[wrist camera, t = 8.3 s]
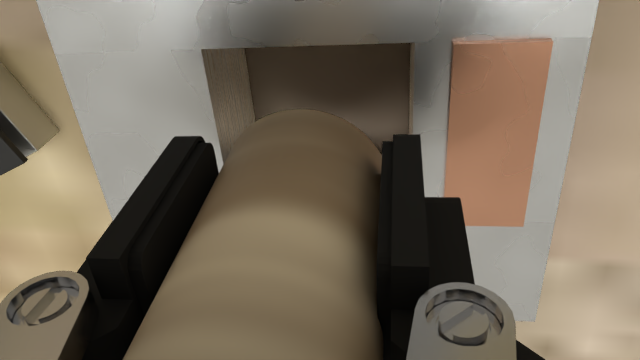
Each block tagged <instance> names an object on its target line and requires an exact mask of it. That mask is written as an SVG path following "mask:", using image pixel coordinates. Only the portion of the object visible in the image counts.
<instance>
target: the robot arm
mask: <svg viewBox="0 0 640 360" xmlns="http://www.w3.org/2000/svg"><path fill="white" fill-rule="evenodd" d="M218 174H219V171H218V166H217V162H216V157H215V152H214V148H213V145H212V144H211V143H205V140H204V139H203V137H202V136H175V137H174V138H172V140H171V141H170V143H169V144H168V145H167V147H166V148H165V149H164V151H163V152H162V154H161V155H160V156H159V158H158V159H157V161H156V162H155V163H154V165H153V166H152V167H151V169H150V170H149V172H148V173H147V174H146V176H145V177H144V179H143V180H142V181H141V183H140V184H139V185H138V187H137V188H136V190H135V191H134V192H133V194H132V195H131V196H130V198H129V199H128V201H127V202H126V203H125V205H124V206H123V208H122V209H121V210H120V212H119V213H118V214H117V216H116V217H115V219H114V220H113V221H112V223H111V224H110V226H109V227H108V228H107V230H106V231H105V232H104V234H103V235H102V237H101V238H100V239H99V241H98V242H97V243H96V245H95V246H94V248H93V249H92V250H91V252H90V253H89V255H88V256H87V257H86V260H85V262H84V263H83V265H82V266H81V267H80V269H79V270H78V272H77V273H76V272H73V271H55V272H50V273H45V274H42V275H39V276H37V277H34V278H32V279H30V280H28V281H26V282H24V283H22V284H20V285H19V286H18V287H16V288H15V289H14V290H13V291H11V292H10V293H9V294H8V295H7V296H6V297H5V298H4V300H3V301H2V302H1V303H0V360H123V358H124V356H125V354H126V352H127V350H128V348H129V346H130V344H131V343H132V341H133V339H134V337H135V335H136V333H137V331H138V329H139V327H140V325H141V323H142V321H143V319H144V317H145V315H146V314H147V312H148V310H149V308H150V306H151V304H152V302H153V300H154V298H155V296H156V294H157V292H158V290H159V288H160V286H161V285H162V283H163V281H164V279H165V277H166V275H167V273H168V271H169V269H170V267H171V265H172V263H173V261H174V259H175V257H176V255H177V254H178V252H179V250H180V248H181V246H182V244H183V242H184V240H185V238H186V236H187V234H188V232H189V230H190V228H191V226H192V225H193V223H194V221H195V219H196V217H197V215H198V213H199V211H200V209H201V207H202V205H203V203H204V201H205V199H206V197H207V196H208V194H209V192H210V190H211V188H212V186H213V184H214V182H215V180H216V178H217V176H218ZM377 317H378V319H379V322H380V325H381V329H382V332H383V341H384V348H383V360H545V359H544V358H542V357H541V356H539V355H538V354H536V353H535V352H533V351H532V350H530V349H529V348H527V347H526V346H524V345H523V344H522V343H520V342H519V341H517V340H516V326H515V320H514V316H513V312H512V310H511V309H510V307H509V306H508V305H507V303H506V302H505V301H504V300H503V299H502V298H501V297H499V296H498V295H497V294H496V293H494V292H492V291H490V290H488V289H486V288H484V287H482V286H479V285H475V282H474V276H473V270H472V264H471V258H470V252H469V246H468V240H467V234H466V228H465V222H464V216H463V210H462V204H461V199H460V198H459V197H425V194H424V180H423V165H422V151H421V137H420V134H401V135H393V142H383V146H382V165H381V185H380V204H379V224H378V244H377Z"/></svg>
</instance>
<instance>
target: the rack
mask: <svg viewBox="0 0 640 360" xmlns="http://www.w3.org/2000/svg"><path fill="white" fill-rule="evenodd" d="M36 1H37V4H38V7H39V10H40V13H41V16H42V19H43V22H44V24H45V27H46V30H47V33H48V36H49V39H50V42H51V45H52V47H53V50H54V53H55V56H56V59H57V62H58V65H59V68H60V70H61V73H62V76H63V79H64V82H65V85H66V88H67V91H68V93H69V96H70V99H71V102H72V105H73V108H74V111H75V114H76V116H77V119H78V122H79V125H80V128H81V131H82V134H83V137H84V139H85V142H86V145H87V148H88V151H89V154H90V157H91V160H92V163H93V165H94V168H95V171H96V174H97V177H98V180H99V183H100V186H101V188H102V191H103V194H104V197H105V200H106V203H107V206H108V209H109V211H110V214H111V217H112V220H114V219H115V217H116V216H117V214H118V213H119V212H120V210H121V209H122V208H123V206H124V205H125V203H126V202H127V201H128V199H129V198H130V196H131V195H132V194H133V192H134V191H135V190H136V188H137V187H138V185H139V184H140V183H141V181H142V180H143V179H144V177H145V176H146V174H147V173H148V172H149V170H150V169H151V167H152V166H153V165H154V163H155V162H156V161H157V159H158V158H159V156H160V155H161V154H162V152H163V151H164V149H165V148H166V147H167V145H168V144H169V143H170V141H171V140H172V138H174V137H175V136H202V137H203V139H204V140H205V143H211V144H212V145H213V148H214V152H215V157H216V162H217V166H218V171H219V172H220V170H221V168H222V166H223V165H224V163H225V161H226V159H227V157H228V155H229V153H230V151H231V149H232V147H233V145H234V144H235V142H236V140H237V139H238V137H239V136H240V135H241V134H242V132H243V131H244V130H246V129H247V128H248V127H249V126H250V125H251V124H253V123H254V122H256V121H255V114H254V108H253V101H252V95H251V88H250V82H249V75H248V68H247V62H246V55H245V49H244V48H256V47H288V46H320V45H352V44H383V43H411V45H410V103H409V134H420V137H421V151H422V165H423V180H424V194H425V197H459V198H460V199H461V204H462V210H463V216H464V222H465V228H466V234H467V240H468V246H469V252H470V258H471V264H472V270H473V276H474V282H475V285H479V286H482V287H484V288H486V289H488V290H490V291H492V292H494V293H496V294H497V295H498V296H499V297H501V298H502V299H503V300H504V301H505V302H506V303H507V305H508V306H509V307H510V309H511V310H512V312H513V316H514V320H515V321H534V322H535V319H536V314H537V309H538V304H539V299H540V294H541V289H542V284H543V279H544V274H545V269H546V264H547V259H548V254H549V249H550V244H551V239H552V234H553V229H554V224H555V219H556V214H557V209H558V204H559V199H560V194H561V189H562V184H563V178H564V173H565V168H566V163H567V158H568V153H569V148H570V143H571V138H572V133H573V128H574V123H575V118H576V113H577V108H578V103H579V98H580V93H581V88H582V83H583V78H584V73H585V68H586V63H587V58H588V53H589V48H590V43H591V38H592V33H593V28H594V23H595V18H596V13H597V8H598V3H599V0H36ZM381 156H382V154H381Z"/></svg>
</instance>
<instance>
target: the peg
mask: <svg viewBox="0 0 640 360" xmlns="http://www.w3.org/2000/svg"><path fill="white" fill-rule="evenodd" d="M381 165H382V156H381V154H380V152H379V151H378V149H377V147H376V146H375V145H374V143H373V142H372V141H371V140H370V139H369V138H368V137H367V136H366V135H365V134H364V133H363V132H362V131H361V130H360V129H358V128H357V127H356V126H354V125H353V124H351V123H349V122H348V121H346V120H344V119H342V118H340V117H337V116H335V115H333V114H329V113H326V112H322V111H316V110H310V109H292V110H284V111H279V112H276V113H273V114H270V115H267V116H265V117H263V118H261V119H259V120H257V121H256V122H254V123H253V124H251V125H250V126H249V127H248V128H247V129H246V130H244V131H243V132H242V134H241V135H240V136H239V137H238V139H237V140H236V142H235V144H234V145H233V147H232V149H231V151H230V153H229V155H228V157H227V159H226V161H225V163H224V165H223V166H222V168H221V170H220V172H219V174H218V176H217V178H216V180H215V182H214V184H213V186H212V188H211V190H210V192H209V194H208V196H207V197H206V199H205V201H204V203H203V205H202V207H201V209H200V211H199V213H198V215H197V217H196V219H195V221H194V223H193V225H192V226H191V228H190V230H189V232H188V234H187V236H186V238H185V240H184V242H183V244H182V246H181V248H180V250H179V252H178V254H177V255H176V257H175V259H174V261H173V263H172V265H171V267H170V269H169V271H168V273H167V275H166V277H165V279H164V281H163V283H162V285H161V286H160V288H159V290H158V292H157V294H156V296H155V298H154V300H153V302H152V304H151V306H150V308H149V310H148V312H147V314H146V315H145V317H144V319H143V321H142V323H141V325H140V327H139V329H138V331H137V333H136V335H135V337H134V339H133V341H132V343H131V344H130V346H129V348H128V350H127V352H126V354H125V356H124V358H123V360H383V348H384V341H383V332H382V329H381V325H380V322H379V319H378V317H377V244H378V224H379V204H380V185H381Z"/></svg>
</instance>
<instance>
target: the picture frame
mask: <svg viewBox="0 0 640 360" xmlns="http://www.w3.org/2000/svg"><path fill="white" fill-rule="evenodd" d="M58 132H59V129H58V128H57V127H56V126H55V125H54V123H53V122H52V121H51V120H50V119H49V118H48V116H47V115H46V114H45V113H44V112H43V111H42V109H41V108H40V107H39V106H38V105H37V104H36V102H35V101H34V100H33V99H32V98H31V97H30V95H29V94H28V93H27V92H26V91H25V90H24V88H23V87H22V86H21V85H20V84H19V82H18V81H17V80H16V79H15V78H14V77H13V75H12V74H11V73H10V72H9V71H8V70H7V68H6V67H5V66H4V65H3V64H2V63H1V61H0V175H2V174H4V173H6V172H8V171H10V170H12V169H14V168H16V167H18V166H20V165H22V164H24V163H25V162H26V161H27V160H28V159H27V158H26V157H27V156H29V155H31V154H33V153H34V152H36V151H38V150H39V149H40V148H41V147H43V146H44V145H45V144H46V143H47V142H48V141H49V140H50V139H51V138H52V137H53V136H55V135H56V134H57V133H58Z"/></svg>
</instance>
